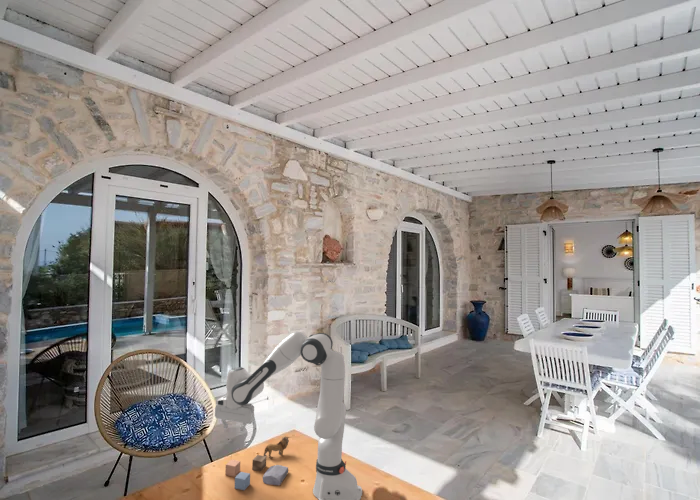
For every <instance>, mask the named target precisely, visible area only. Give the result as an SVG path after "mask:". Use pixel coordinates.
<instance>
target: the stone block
mask: <svg viewBox="0 0 700 500" xmlns="http://www.w3.org/2000/svg"><path fill="white" fill-rule="evenodd" d="M288 474H289V467H288V466H283V465H281V464H276V465H275V464H274V465H272V466H270V467H269V468H268V469H267V470H266V471H265V473H264V474H263V475H262V482H263V484H266V485H273V486H281V484H282V483H283V481H284V480H285V478H286V477H287V475H288Z"/></svg>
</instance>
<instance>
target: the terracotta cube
mask: <svg viewBox="0 0 700 500" xmlns="http://www.w3.org/2000/svg"><path fill="white" fill-rule="evenodd" d="M240 472H241V461H240V460H236V459H230V460H229V461H228V462H227V463H226V464H225V476H229V477H234V478H235V477H236V476H237V475H238V474H239V473H240Z"/></svg>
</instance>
